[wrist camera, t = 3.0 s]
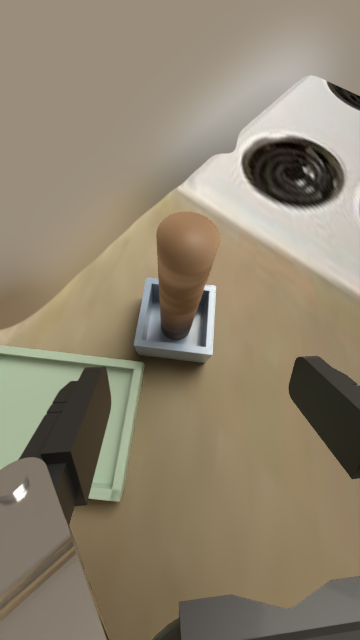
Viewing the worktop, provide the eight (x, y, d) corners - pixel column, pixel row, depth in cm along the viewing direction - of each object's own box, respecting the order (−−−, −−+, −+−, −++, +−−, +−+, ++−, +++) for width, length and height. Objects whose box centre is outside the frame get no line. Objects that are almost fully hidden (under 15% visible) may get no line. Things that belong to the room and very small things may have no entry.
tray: (-48, 474, 20) (-72, 481, 18) (4, 348, 25) (-11, 343, 23) (123, 492, 21) (119, 501, 19) (144, 365, 25) (142, 362, 23)
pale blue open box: (138, 355, 25) (133, 345, 21) (149, 296, 28) (146, 277, 24) (204, 363, 26) (212, 354, 21) (208, 303, 28) (216, 286, 24)
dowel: (158, 338, 26) (151, 257, 12) (162, 310, 27) (161, 208, 13) (189, 341, 26) (219, 266, 12) (191, 314, 27) (221, 216, 13)
